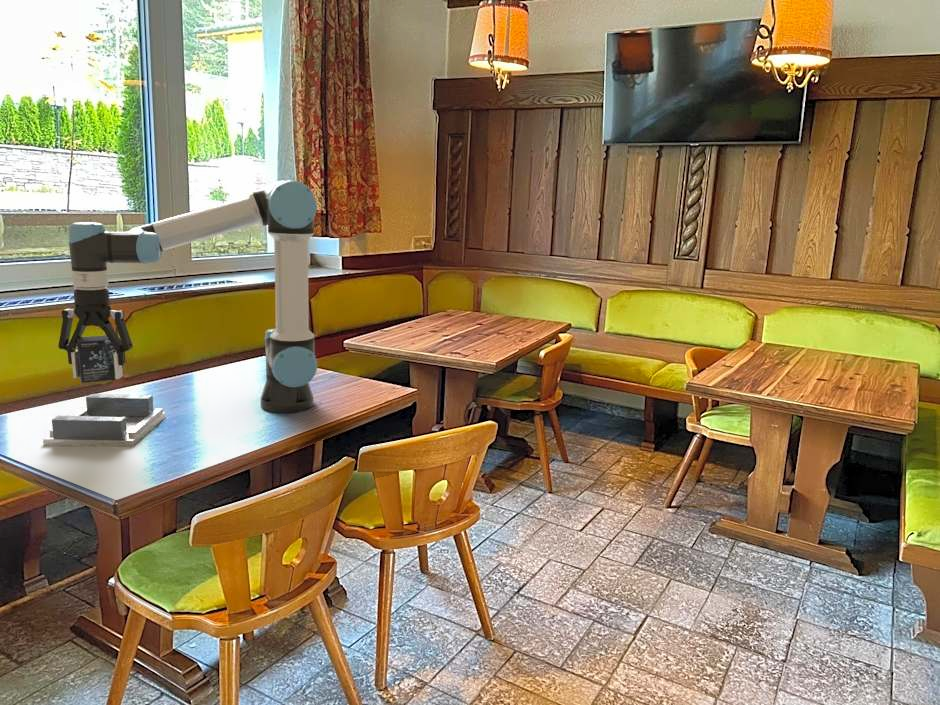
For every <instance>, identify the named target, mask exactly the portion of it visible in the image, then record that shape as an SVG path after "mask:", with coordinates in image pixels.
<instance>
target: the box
mask: <svg viewBox="0 0 940 705" xmlns="http://www.w3.org/2000/svg"><path fill="white" fill-rule="evenodd" d="M76 348H77V350H78V361H79V374H80V377H79V379H80V381H81V383H82V384H86V383H95V382H97V383H98V382H104V381H105V382H106V381H118V379H115V368H114V355H113V354H114V353H115V352H116V350H115V348H114V347H113V345H112V344H111V342H110V340H109V339H108V337H107V336H106V334H105V335H92V336H82V337H79V338H77V347H76Z"/></svg>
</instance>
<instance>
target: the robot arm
mask: <svg viewBox="0 0 940 705" xmlns="http://www.w3.org/2000/svg"><path fill="white" fill-rule="evenodd" d="M317 208H318V206H317V199H316V196H315V194H314V192H313V191H312V190H311V188H310V187H309V186H307V185H306V184H305V183H303V182H301V181H299V180H295V179H294V180H293V179H281V180H277V181H275V182H273V183H271V184H269V185H266V186H264V187H261V188H260V189H256V190H253V191H249V193H248V195H247V196H246V197H242V198H238V199H235V200H230V201H227V202H224V203H220V204H215V205H213V206H212V205H211V206H210V207H205V208H202V209H198V210H194V211H190V212H188V213H183V214H180V215H176V216H173V217H169V218H165V219H163V220H159V221H155V222H152V223H147V224H145V225H141V226H140V225H139V226H134V227H130V228H128V229H127V230H125V231H108V230H107V231H106V229H105V227H104V224H103V223H100V222H87V221H85V222H73V223H71V224H69V226H68V246H69V253H70V254H69V255H70V263H71V264H70V266H71V276H72V286H73V287H74V289H73V298H74V300H73V301H74V308H64V309H62V311H61V316H62V324H61V329H60V335H59V339H58V340H59V342H58V345H57V346H58V349H60V350H65V351H66V352H67V362H68V364H69V365H72V366H71V368H72V376H73V379H77V378H80V374H79V361H78V348H77V338H79V337H83V335H84V332H85V330H86V329H87V327H90V326H93V327H99V328H100V329H101V330H102V331H103V333H104V334H105V335H106V336H107V337H108V339H109V340H110V342H111V344H112V345H113V347H114V348H115V353H114V354H113V355H114V368H115V379H117V380H119V379H121V378H123V377H124V371H123V366H124V365H126V361H127V360H126V352H129V351H130V350H132V349H133V347H134V346H133V343H132V340H131V336H130V334H129V330H128V327H127V325H126V322H125V312H124V310H123V309H120V310H114V309H112V308H111V306H110V303H111V302H110V289H109V288H108V286H109V278H108V266H107V264H116V263H117V264H118V263H119V264H143V265H146V264H156V263H159V262H160V260H161V252H163V251H167V250H171V249H174V248H177V247H180V246H184V245H188V244H191V243H196V242H199V241H202V240H205V239H209V238H214V237H216V236H220V235H224V234H226V233H231V232H234V231H237V230H242V229H245V228H248V227H252V226H255V225H258V226H261V227H265V226H267V233H268V234H269V235H270V237H271V238H272V239H273V242H274V243H273V244H274V245H273V246H274V289H275V290H274V293H275V295H274V296H275V297H274V300H275V301H274V302H275V303H274V304H275V306H274V307H275V328H271V329H270V328H269V329H267V330H265V336H264V342H265V344H264V345H265V374H266V375H265V384H264V387H263V391H262V393H261V396H260V407H261V409H263V410H265V411H268V412H271V413H272V412H273V413H280V414H281V413H282V414H283V413H296V412H297V413H298V412H302V411H306V410H308V409H311V408H312V407H313V406H314V394H313V392H312V390H311V386H310V384H309V382H311V381H312V380H313V379H314V378H315V376H316V374H317V370H318V361H317V358H316V355H315V351H316V350H315V349H316V348H315V334H314V333H313V332H312V331H311V330H310V327H309V325H310V322H309V320H310V318H309V315H310V314H309V309H310V308H309V240H310V239H311V238H312V237H313V235H315V217H316V214H317ZM111 316H112V319H113V320H114V323H115V327H116V330H117V332H118V334H117V332H116V331H115V329H114V328H113V325H112V322H111V320H110V317H111ZM74 317H77V319H78V321H77V324H76V326H75V327H76V328H75V330H74V332H73V334H72V336H71V332H72V328H73V327H72V326H73V318H74ZM70 337H71V338H70Z"/></svg>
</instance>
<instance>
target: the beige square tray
mask: <svg viewBox="0 0 940 705" xmlns="http://www.w3.org/2000/svg"><path fill="white" fill-rule="evenodd" d="M153 410H154V411H153V412H152V413H151V414H149V415H148V416H102V415H87V406H85V407H83V408H82V409H80V410H79V411H78V412H76V413H75V414H73V415H57V416H55V417H53V418H52V419H51V423H52V425H51V426H52V427H51V428H52V429H51V430H49V434H48V435H47V436H45V437H44V438H43V439H42V442H43V443H42V444H43V446H71V445H72V447H73V446H78V447H79V445H83V447H84V445H93V446H92V447H134V446H135V445H137V444H138V443H139V442H140V441H141V440H142V439H144V437H146V436H147V434H149V433H150V432H151V431H152V430H153V429H154V428H155V427H157V426H158V425H159V424H160V423H161V422H162V421H163V420H164V419H166V411H164V409H163V408H161V407H160V408H159V407H158V408H157V407H156V408H155V409H153Z"/></svg>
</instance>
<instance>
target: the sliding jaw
mask: <svg viewBox="0 0 940 705" xmlns="http://www.w3.org/2000/svg"><path fill="white" fill-rule="evenodd" d="M85 402H86V404H85V405H86V407H87V415H102V416H148V415H149V414H151V413H152V412H153V411H154V410H155V409H154V398H153V395H152V394H150V395H149V394H112V393H111V394H110V393H108V394H107V393H91V394H89V395H87V396H86V397H85Z"/></svg>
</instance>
